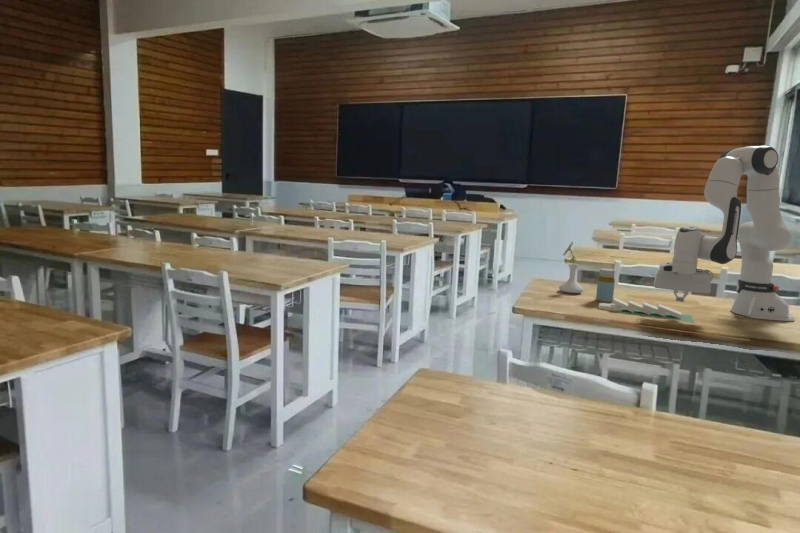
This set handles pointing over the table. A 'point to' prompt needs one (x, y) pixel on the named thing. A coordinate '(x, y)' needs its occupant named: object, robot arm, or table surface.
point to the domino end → (609, 307)
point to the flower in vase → (571, 277)
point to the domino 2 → (638, 307)
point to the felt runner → (657, 315)
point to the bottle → (605, 285)
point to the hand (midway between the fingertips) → (679, 301)
